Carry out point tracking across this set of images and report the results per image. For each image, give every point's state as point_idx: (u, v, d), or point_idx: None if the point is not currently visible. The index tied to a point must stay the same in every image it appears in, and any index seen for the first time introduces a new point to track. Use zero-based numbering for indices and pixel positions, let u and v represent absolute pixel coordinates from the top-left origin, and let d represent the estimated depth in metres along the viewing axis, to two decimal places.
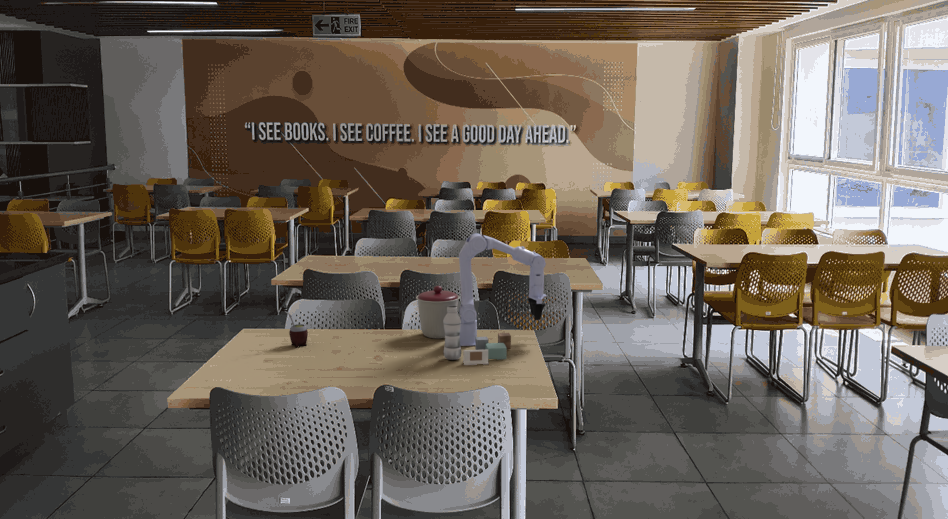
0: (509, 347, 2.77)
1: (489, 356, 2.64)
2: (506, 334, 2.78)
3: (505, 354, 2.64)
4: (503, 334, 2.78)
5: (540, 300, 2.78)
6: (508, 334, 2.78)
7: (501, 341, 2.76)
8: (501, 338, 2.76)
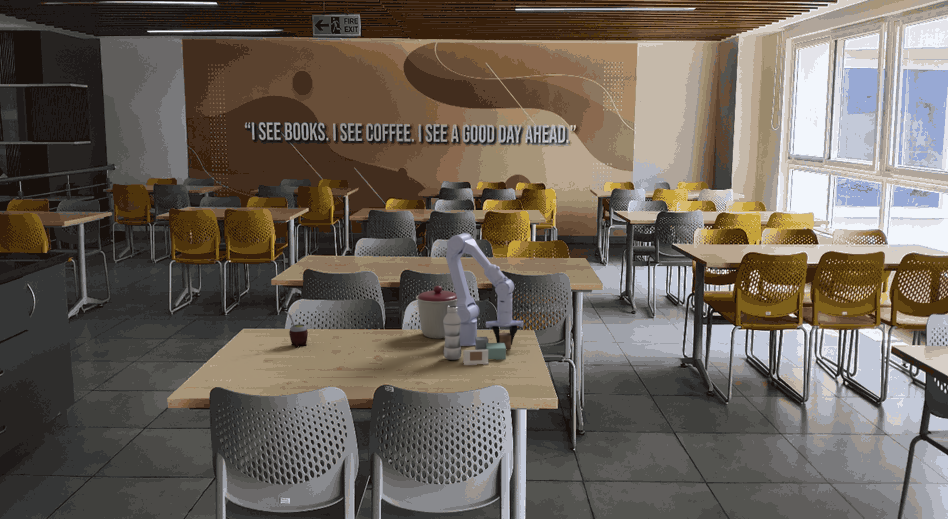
0: (509, 347, 2.77)
1: (488, 356, 2.64)
2: (506, 333, 2.78)
3: (504, 354, 2.64)
4: (503, 334, 2.78)
5: (486, 323, 2.76)
6: (508, 334, 2.78)
7: (501, 341, 2.76)
8: (501, 338, 2.76)
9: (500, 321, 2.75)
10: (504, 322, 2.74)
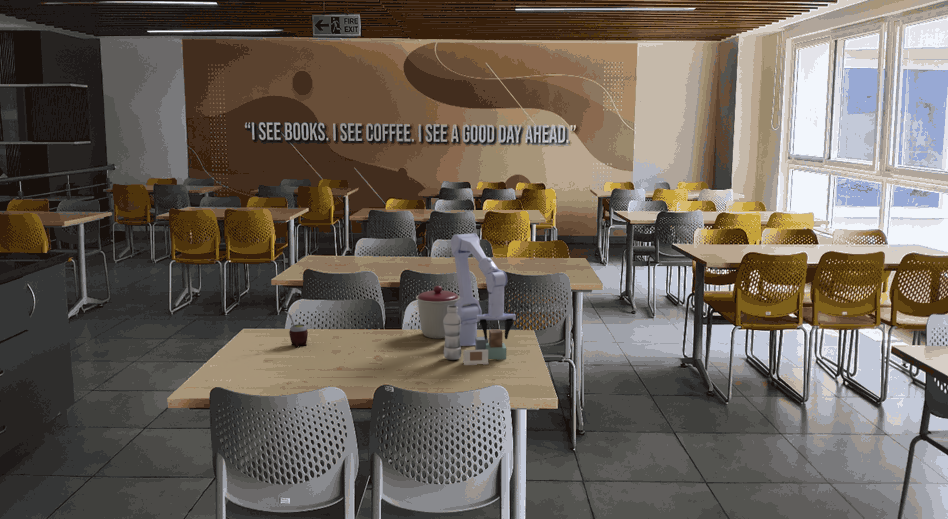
0: (500, 344, 2.65)
1: (489, 356, 2.64)
2: (498, 330, 2.67)
3: (505, 354, 2.64)
4: (494, 331, 2.66)
5: (476, 317, 2.64)
6: (499, 331, 2.66)
7: (492, 338, 2.64)
8: (492, 335, 2.64)
9: (491, 314, 2.63)
10: (495, 315, 2.62)
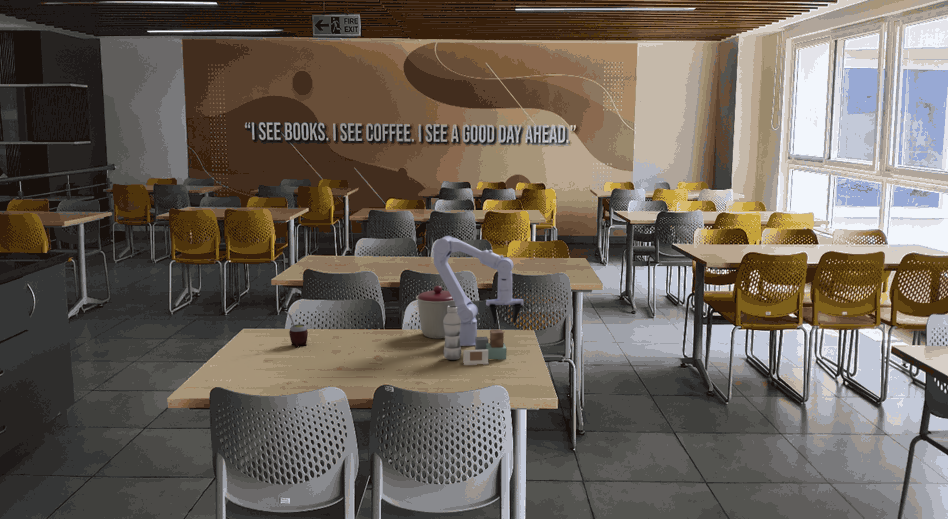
0: (501, 345, 2.65)
1: (489, 356, 2.64)
2: (499, 331, 2.67)
3: (505, 354, 2.64)
4: (495, 331, 2.66)
5: (486, 302, 2.77)
6: (501, 331, 2.66)
7: (493, 338, 2.64)
8: (493, 335, 2.64)
9: (500, 299, 2.76)
10: (504, 300, 2.76)
